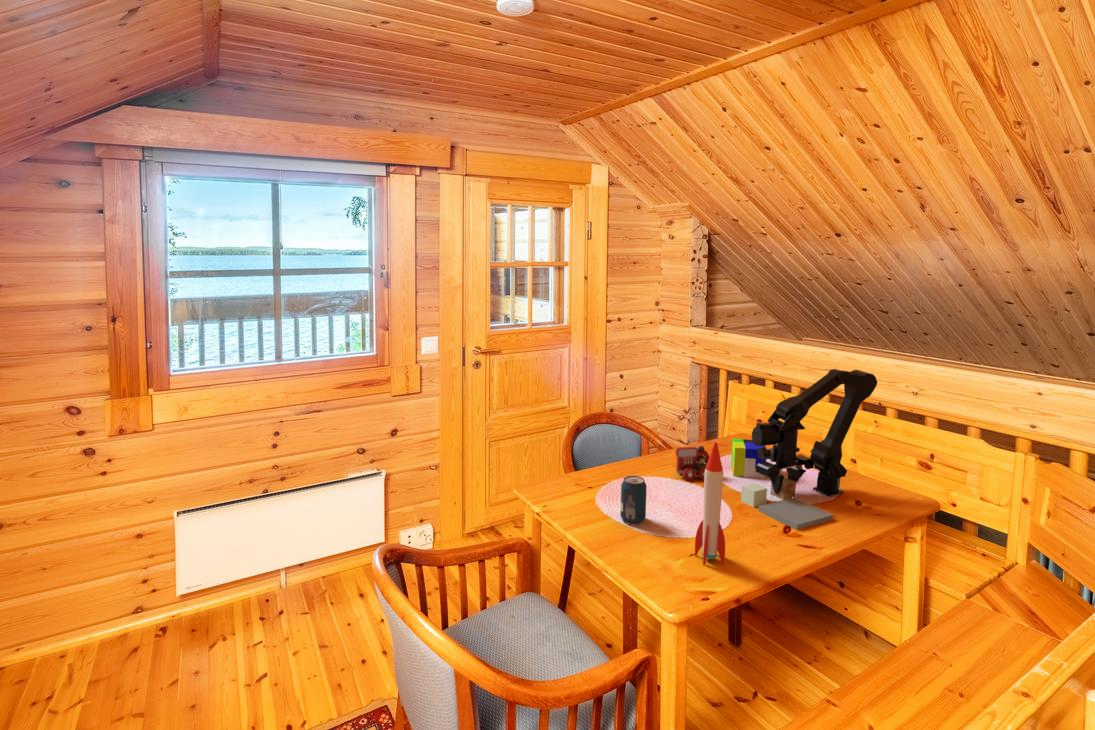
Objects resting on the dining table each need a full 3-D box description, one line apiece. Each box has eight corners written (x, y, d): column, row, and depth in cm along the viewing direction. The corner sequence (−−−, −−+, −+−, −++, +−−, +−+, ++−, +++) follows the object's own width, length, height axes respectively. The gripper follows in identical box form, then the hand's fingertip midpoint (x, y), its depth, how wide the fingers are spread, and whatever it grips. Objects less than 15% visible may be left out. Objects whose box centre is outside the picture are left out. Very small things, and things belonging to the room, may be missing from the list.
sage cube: (753, 498, 193) (754, 482, 192) (765, 504, 189) (767, 488, 188) (741, 501, 191) (741, 485, 190) (753, 507, 186) (754, 491, 185)
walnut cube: (782, 491, 198) (783, 476, 197) (795, 497, 194) (796, 481, 193) (770, 494, 196) (771, 479, 195) (783, 500, 192) (784, 484, 191)
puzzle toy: (764, 478, 209) (767, 449, 207) (733, 476, 211) (735, 447, 209) (761, 468, 219) (763, 440, 217) (730, 466, 220) (732, 438, 219)
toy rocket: (694, 555, 158) (698, 439, 152) (715, 553, 159) (720, 437, 153) (703, 566, 152) (708, 446, 147) (725, 564, 153) (730, 444, 148)
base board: (793, 501, 190) (793, 497, 190) (832, 519, 178) (833, 514, 178) (758, 510, 184) (758, 505, 184) (796, 529, 172) (797, 524, 171)
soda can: (640, 514, 181) (642, 474, 179) (648, 524, 175) (650, 483, 172) (617, 515, 180) (618, 475, 178) (624, 526, 174) (625, 484, 171)
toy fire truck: (715, 479, 208) (717, 449, 206) (679, 481, 206) (680, 451, 204) (706, 472, 215) (708, 442, 213) (671, 474, 213) (672, 444, 211)
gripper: (788, 432, 203) (784, 478, 206) (744, 440, 195) (741, 488, 198) (816, 442, 193) (812, 490, 196) (771, 450, 185) (768, 501, 188)
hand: (783, 492), depth 195 cm, fingers open, 5 cm apart
